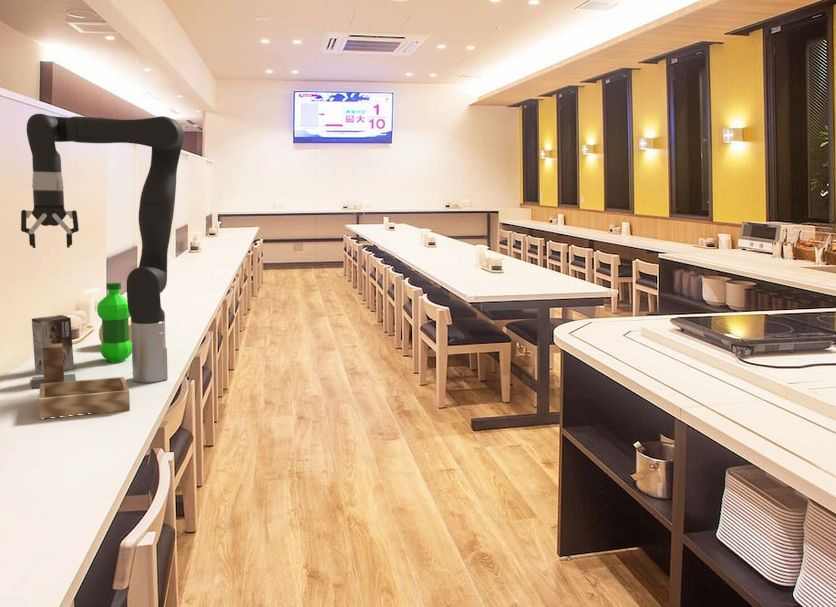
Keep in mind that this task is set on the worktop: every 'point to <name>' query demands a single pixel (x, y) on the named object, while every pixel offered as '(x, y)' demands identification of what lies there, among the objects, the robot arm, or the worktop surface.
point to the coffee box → (52, 339)
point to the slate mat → (40, 380)
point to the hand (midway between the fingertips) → (51, 247)
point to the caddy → (83, 397)
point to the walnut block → (53, 362)
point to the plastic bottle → (114, 325)
